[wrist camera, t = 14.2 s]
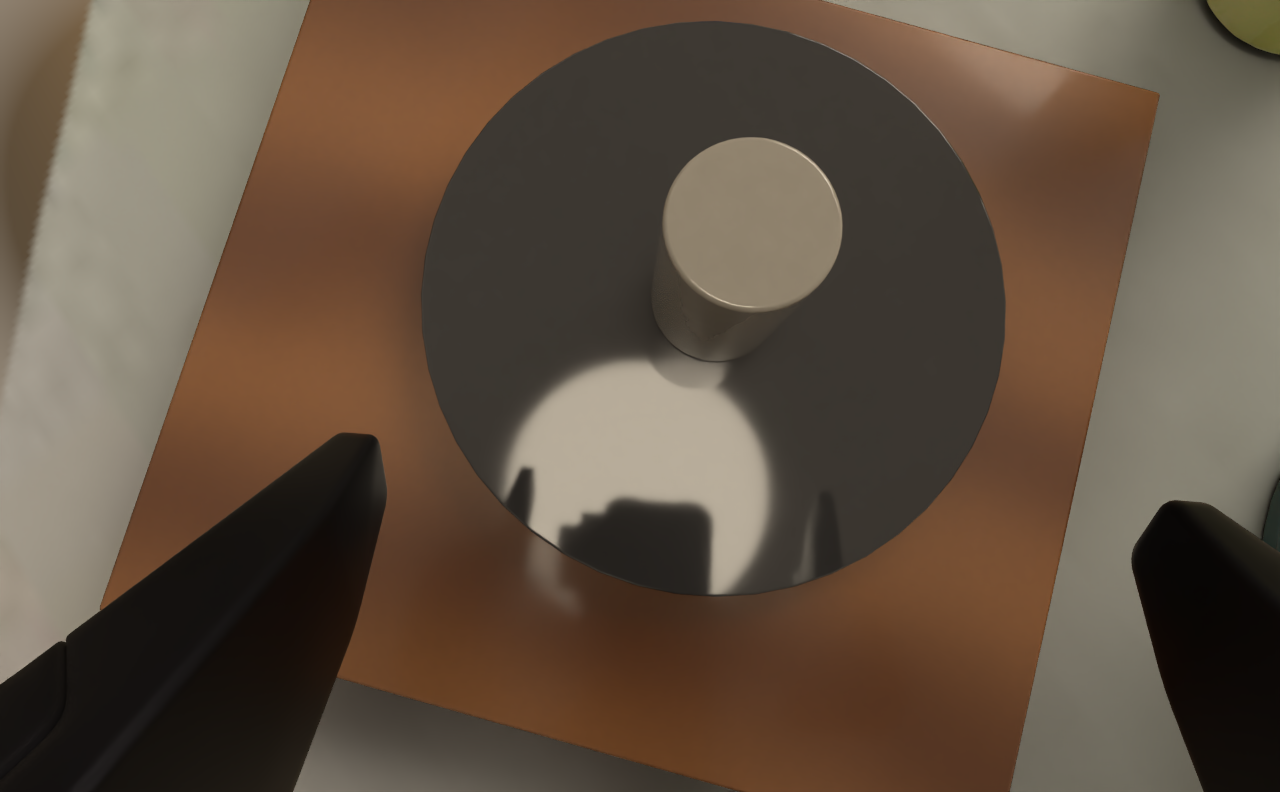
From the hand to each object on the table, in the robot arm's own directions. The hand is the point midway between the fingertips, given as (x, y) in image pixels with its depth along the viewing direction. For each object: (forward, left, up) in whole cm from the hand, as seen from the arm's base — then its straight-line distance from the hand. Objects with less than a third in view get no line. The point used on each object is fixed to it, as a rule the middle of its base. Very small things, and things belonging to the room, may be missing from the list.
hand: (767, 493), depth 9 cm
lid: (+4, +1, -8) cm, 9 cm away
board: (+3, +2, -11) cm, 12 cm away
